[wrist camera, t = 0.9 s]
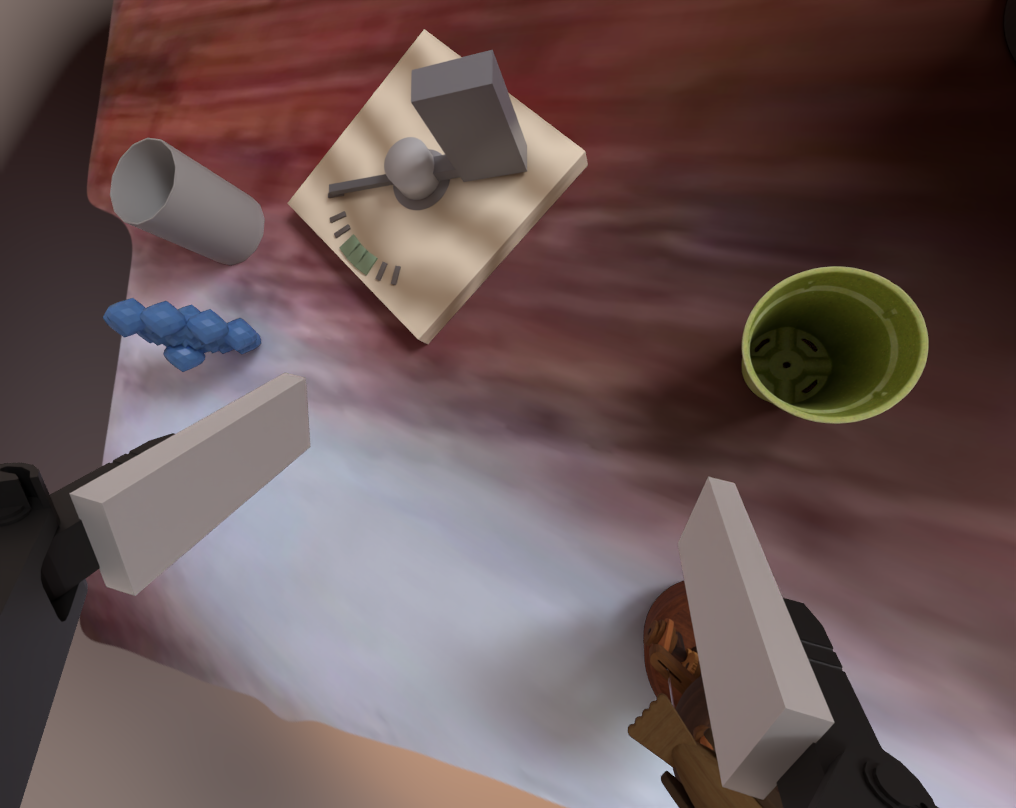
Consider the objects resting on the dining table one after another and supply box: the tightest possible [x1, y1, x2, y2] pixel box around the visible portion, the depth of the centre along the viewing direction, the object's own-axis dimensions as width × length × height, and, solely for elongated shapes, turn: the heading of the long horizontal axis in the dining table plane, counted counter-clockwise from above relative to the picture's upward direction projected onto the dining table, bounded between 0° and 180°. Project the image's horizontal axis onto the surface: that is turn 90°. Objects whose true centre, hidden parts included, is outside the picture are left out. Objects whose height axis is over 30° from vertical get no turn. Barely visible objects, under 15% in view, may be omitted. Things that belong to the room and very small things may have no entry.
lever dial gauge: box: [329, 50, 527, 200], centre depth 37 cm, size 20×4×10 cm, turn 90°
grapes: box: [103, 298, 261, 372], centre depth 43 cm, size 12×7×12 cm, turn 85°
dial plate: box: [288, 29, 588, 344], centre depth 43 cm, size 22×22×2 cm
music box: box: [628, 581, 783, 808], centre depth 25 cm, size 15×11×20 cm
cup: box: [110, 138, 265, 265], centre depth 46 cm, size 8×8×10 cm
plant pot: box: [742, 267, 928, 423], centre depth 30 cm, size 9×9×9 cm
